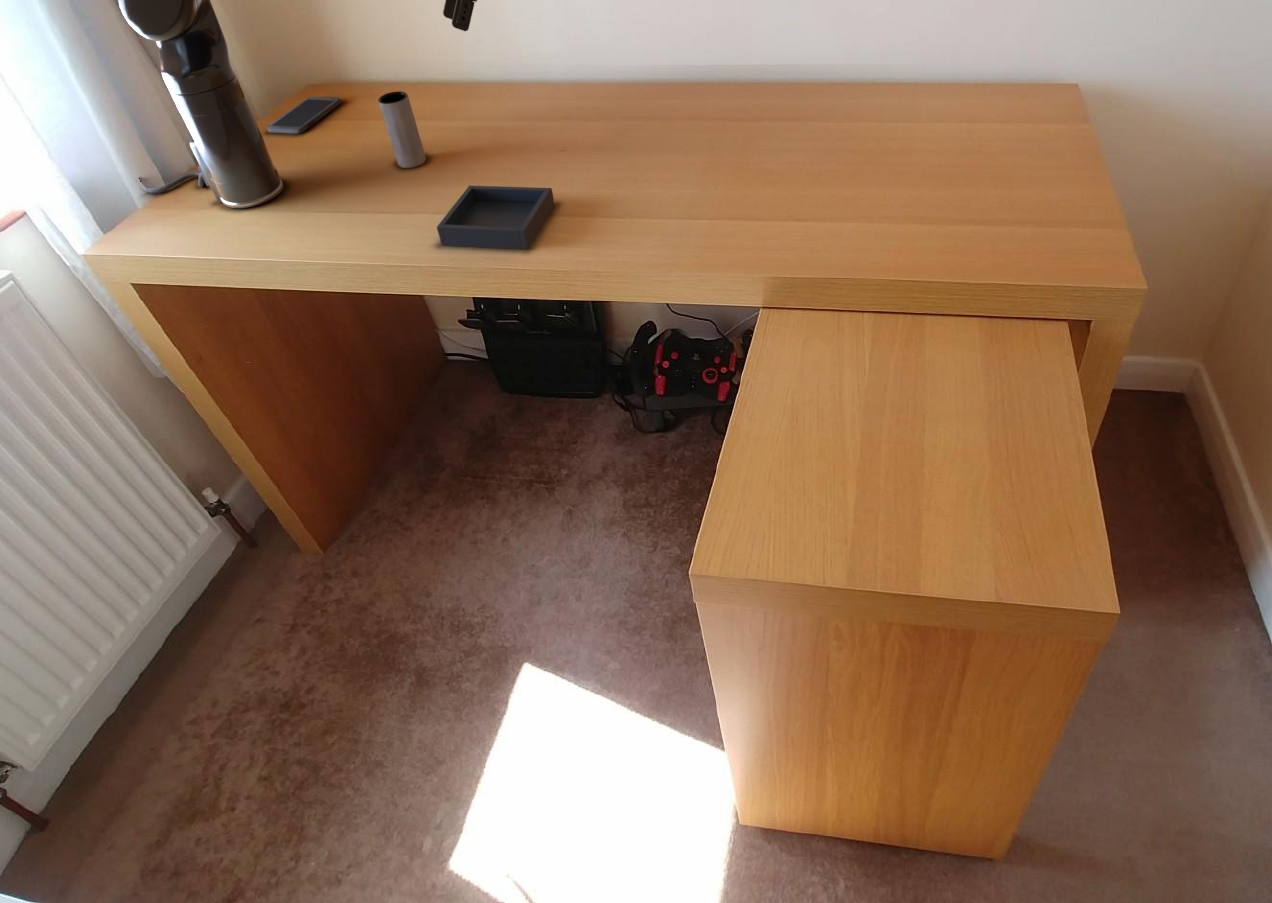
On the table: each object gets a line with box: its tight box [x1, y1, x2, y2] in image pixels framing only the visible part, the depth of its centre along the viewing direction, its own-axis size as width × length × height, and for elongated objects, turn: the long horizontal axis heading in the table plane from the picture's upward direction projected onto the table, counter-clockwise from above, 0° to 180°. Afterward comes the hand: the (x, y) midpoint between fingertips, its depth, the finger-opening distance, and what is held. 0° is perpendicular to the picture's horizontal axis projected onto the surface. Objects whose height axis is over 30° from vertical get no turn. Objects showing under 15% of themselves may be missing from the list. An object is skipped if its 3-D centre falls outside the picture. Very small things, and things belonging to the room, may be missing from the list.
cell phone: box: [266, 96, 342, 135], centre depth 150 cm, size 7×14×1 cm, turn 161°
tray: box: [436, 185, 556, 251], centre depth 114 cm, size 13×12×3 cm
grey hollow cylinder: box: [377, 91, 427, 169], centre depth 129 cm, size 4×4×10 cm
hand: (454, 23), depth 114 cm, fingers open, 8 cm apart
